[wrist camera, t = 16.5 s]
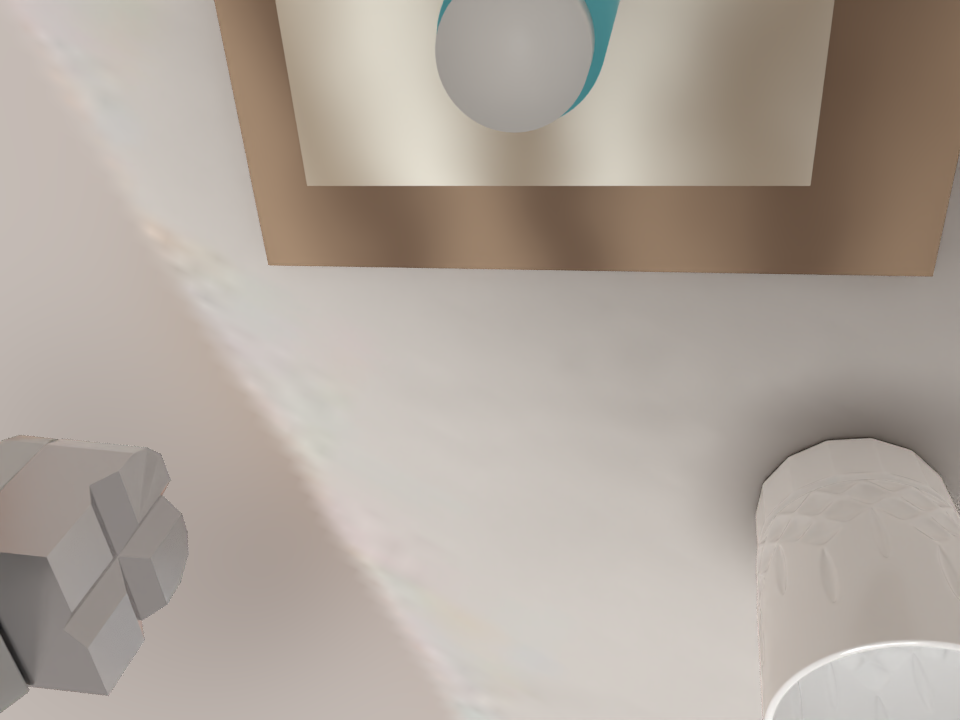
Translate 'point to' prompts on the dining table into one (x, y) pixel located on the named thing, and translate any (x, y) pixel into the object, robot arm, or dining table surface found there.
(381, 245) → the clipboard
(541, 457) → the dining table surface
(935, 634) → the white cup
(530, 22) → the thermos
